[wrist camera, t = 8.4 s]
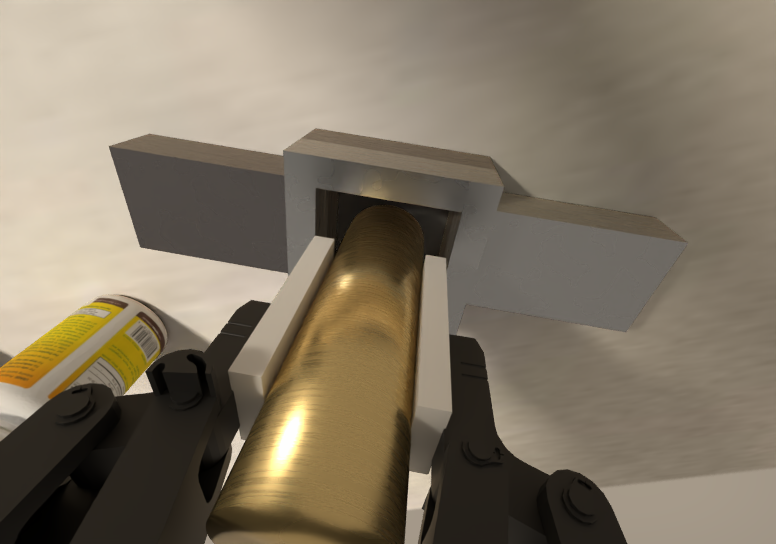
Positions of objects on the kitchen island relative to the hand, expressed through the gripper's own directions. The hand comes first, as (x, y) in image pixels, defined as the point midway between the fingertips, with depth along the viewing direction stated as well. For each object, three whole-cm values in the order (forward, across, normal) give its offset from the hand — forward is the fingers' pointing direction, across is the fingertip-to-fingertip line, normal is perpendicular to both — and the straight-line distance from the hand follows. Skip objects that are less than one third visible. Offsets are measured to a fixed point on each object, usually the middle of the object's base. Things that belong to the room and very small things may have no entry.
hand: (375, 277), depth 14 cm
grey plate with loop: (+5, 0, 0) cm, 5 cm away
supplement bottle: (+5, -17, -11) cm, 21 cm away
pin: (+3, 0, 0) cm, 3 cm away
